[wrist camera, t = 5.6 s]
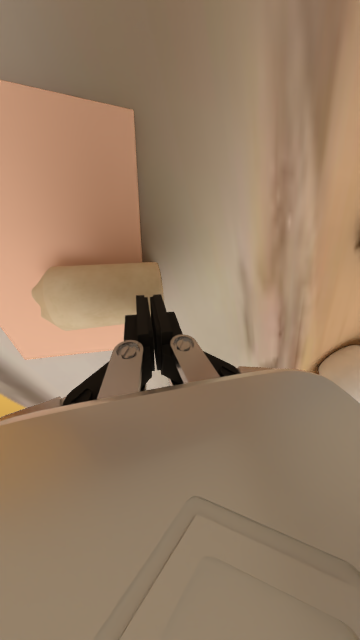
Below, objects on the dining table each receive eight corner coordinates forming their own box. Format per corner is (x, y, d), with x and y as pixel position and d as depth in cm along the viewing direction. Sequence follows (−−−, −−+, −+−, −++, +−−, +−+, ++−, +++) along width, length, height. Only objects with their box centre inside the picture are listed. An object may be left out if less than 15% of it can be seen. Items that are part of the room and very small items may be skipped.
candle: (156, 248, 14) (24, 251, 12) (166, 303, 12) (12, 319, 10) (156, 283, 19) (62, 290, 17) (162, 326, 17) (59, 340, 15)
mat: (-200, 40, 7) (-221, 29, 7) (133, 113, 11) (133, 109, 11) (27, 356, 20) (25, 359, 20) (146, 343, 24) (147, 346, 23)
